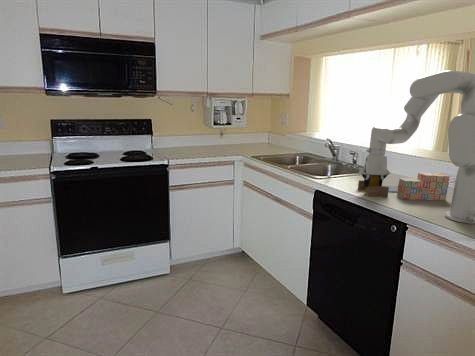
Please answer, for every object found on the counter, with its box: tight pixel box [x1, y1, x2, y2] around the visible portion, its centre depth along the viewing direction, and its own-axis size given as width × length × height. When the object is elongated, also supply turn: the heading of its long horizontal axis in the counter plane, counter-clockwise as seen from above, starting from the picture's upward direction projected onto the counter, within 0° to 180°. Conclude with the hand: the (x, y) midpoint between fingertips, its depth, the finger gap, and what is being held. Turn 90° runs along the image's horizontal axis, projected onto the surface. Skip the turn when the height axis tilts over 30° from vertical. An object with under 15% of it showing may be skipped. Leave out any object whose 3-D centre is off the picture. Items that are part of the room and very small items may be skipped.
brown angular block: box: [357, 179, 389, 198], centre depth 180 cm, size 13×10×5 cm
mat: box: [387, 185, 398, 193], centre depth 189 cm, size 12×12×1 cm
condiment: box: [363, 175, 380, 195], centre depth 179 cm, size 7×8×12 cm
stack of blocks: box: [396, 172, 451, 201], centre depth 173 cm, size 21×6×12 cm, turn 92°
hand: (372, 186), depth 180 cm, fingers closed on condiment, 6 cm apart
